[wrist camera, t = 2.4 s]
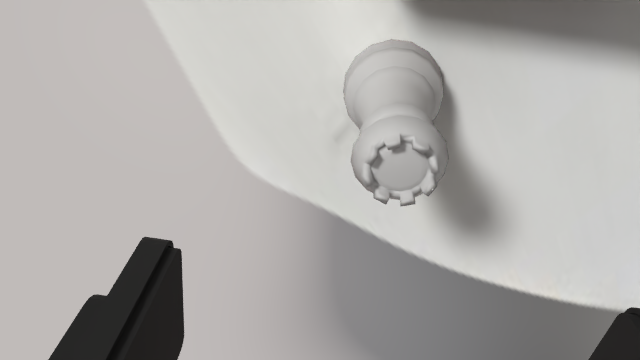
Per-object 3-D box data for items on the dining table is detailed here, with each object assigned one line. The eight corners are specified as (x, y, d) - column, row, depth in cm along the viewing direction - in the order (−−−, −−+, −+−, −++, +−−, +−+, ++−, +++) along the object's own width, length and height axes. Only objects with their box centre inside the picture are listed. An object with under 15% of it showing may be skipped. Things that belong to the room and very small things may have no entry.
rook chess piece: (390, 14, 21) (399, 80, 14) (462, 80, 22) (502, 171, 15) (324, 88, 23) (303, 177, 16) (393, 145, 24) (401, 250, 17)
